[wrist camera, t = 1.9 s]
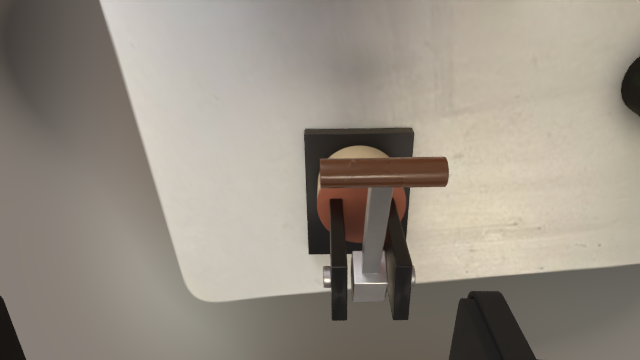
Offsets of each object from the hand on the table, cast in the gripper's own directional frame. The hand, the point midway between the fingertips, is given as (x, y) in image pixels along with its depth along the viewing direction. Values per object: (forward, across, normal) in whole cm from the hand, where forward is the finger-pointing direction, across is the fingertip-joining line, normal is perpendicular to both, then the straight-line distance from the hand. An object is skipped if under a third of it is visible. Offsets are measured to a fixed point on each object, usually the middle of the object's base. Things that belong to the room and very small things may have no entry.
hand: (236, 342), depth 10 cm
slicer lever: (+17, -5, +7) cm, 19 cm away
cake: (+28, -5, +10) cm, 31 cm away
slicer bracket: (+30, -5, +12) cm, 32 cm away
